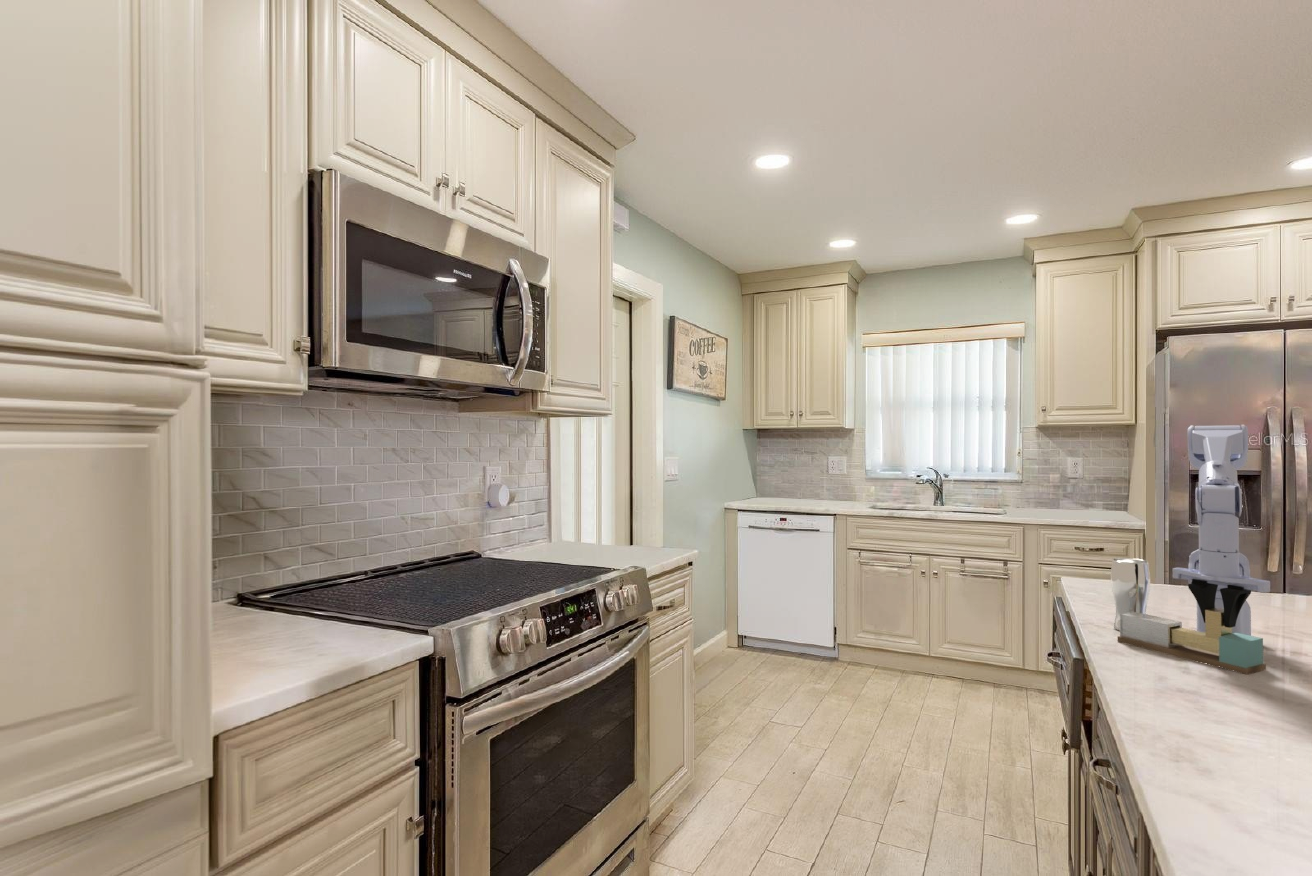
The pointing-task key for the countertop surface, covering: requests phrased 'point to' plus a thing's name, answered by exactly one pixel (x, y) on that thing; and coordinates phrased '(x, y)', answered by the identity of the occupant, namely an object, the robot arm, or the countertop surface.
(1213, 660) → the board
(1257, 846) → the countertop surface
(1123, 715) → the countertop surface
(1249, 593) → the robot arm
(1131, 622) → the white rectangular block
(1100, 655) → the countertop surface
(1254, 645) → the teal rectangular block
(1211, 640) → the wooden l-shaped block
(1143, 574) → the beer glass
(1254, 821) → the countertop surface
